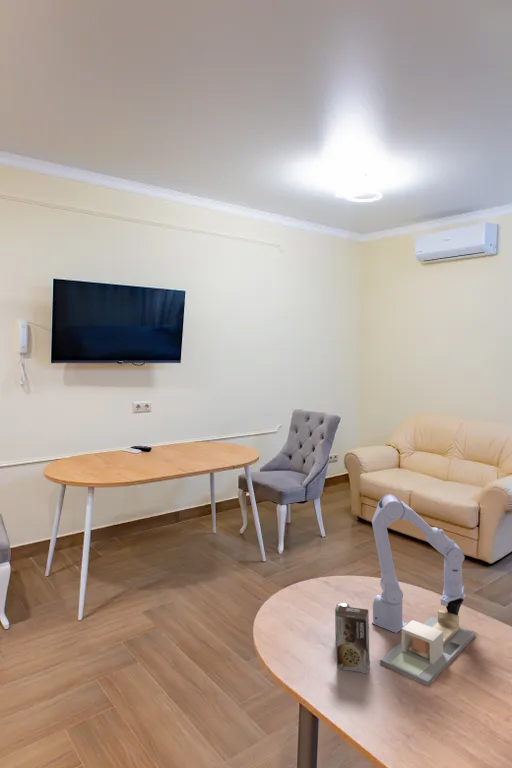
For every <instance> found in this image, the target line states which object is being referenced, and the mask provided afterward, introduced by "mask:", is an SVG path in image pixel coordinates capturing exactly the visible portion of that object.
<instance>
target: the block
mask: <svg viewBox="0 0 512 768" xmlns="http://www.w3.org/2000/svg"><path fill="white" fill-rule="evenodd" d="M413 648H414V649H416V650H419V651H421V652H424V653H427V652H428V651H429V650H430V643H428V642H426V641H423V640H421V639H418V638H416V637H413Z"/></svg>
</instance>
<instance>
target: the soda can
mask: <svg viewBox="0 0 512 768" xmlns="http://www.w3.org/2000/svg"><path fill="white" fill-rule="evenodd" d="M339 606H344V607H351V606H350V604H348V603H345V602H339V603H336V606H335V608H334V611H335V613H334V616H335V619H334V622H335V623H334V624H335V625H334V626H335V627H334V629H335V630H334V631H335V642H336V643H337V637H336V614H337V611H338V609H339Z"/></svg>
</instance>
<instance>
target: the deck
mask: <svg viewBox="0 0 512 768" xmlns="http://www.w3.org/2000/svg"><path fill="white" fill-rule="evenodd" d="M437 622H438V618H435V617H432V616H430V617H428V619H427V620H425V621H424V622H423V623H422V624H425V625H427V626H430V627H433V626H434V625H435V624H436V623H437ZM475 637H476V632H475V631H471V630H469V629H467V628H463V627H460V626H459V630H458V631H457V632H456V633H455V634H454V635H453V636H452V637H451V638H450V639H449V640H448V641H447V642H446V643H445V644H444V645H443V655H442V656H441V657H440V658H439V659H438V660H437V661H436V662H435V663H434V664H431V663H430V658H429V659H428V658H425V657H423V656H421V655H418V654H416V653H413V652H411V651H409V649H408V650H407V651H406V652H403V651H402V641H401V642H399V643H398V644H396V646H395V647H393V648H392V649H391V650H390V651H389V652H387V653H386V654H385V655H384V656H383V657H382V658H380V660H379V664H380V665H382V666H384V667H387V668H389V669H390V670H391V669H392V670H393V671H395V672H397V673H399V674H401V675H404V676H406V677H408V678H410V679H411V680H412V679H413V680H415V681H416V682H419V683H422V684H424V685H425V686H429V685H430V684H431V683H432V682H433V681H434V680H435V679H436V678H437V677H438V676H439V675H440V674H441V673H442V672H443V671H444V670H445V669H446V668H447V667H448V665H450V663H451V662H453V660H454V659H456V657H457V656H458V655H459V654H460V653H461V652H462V650H464V649H465V648H466V647H467V645H469V644H470V643H471V641H472V640H473V639H474V638H475Z"/></svg>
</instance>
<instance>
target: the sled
mask: <svg viewBox="0 0 512 768" xmlns="http://www.w3.org/2000/svg"><path fill="white" fill-rule="evenodd" d="M437 619H438V622H437V623H436V624H435V625H434V626H433V628H435V629H438V630H441V631H443V645H444V644H445V643H446V642H447V641H448V640H449V639H450V638H451V637H452V636H453V635H454V634H455V633H456V632H457V631H458V630H459V627H460V616H459V615H458V616H457V615H454V614H451V613H449V612H447V610H446V611H445V610H442V609H439V610H438V611H437ZM409 651H411V652H413V653H416V654H418V655H421V656H423V657H425V658H428V659H429V658H430V650H429V651H428V652H427V653H424V652H421V651H419V650H416V649H414V648H413V644H412V645H411V646H410V647H409Z"/></svg>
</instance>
